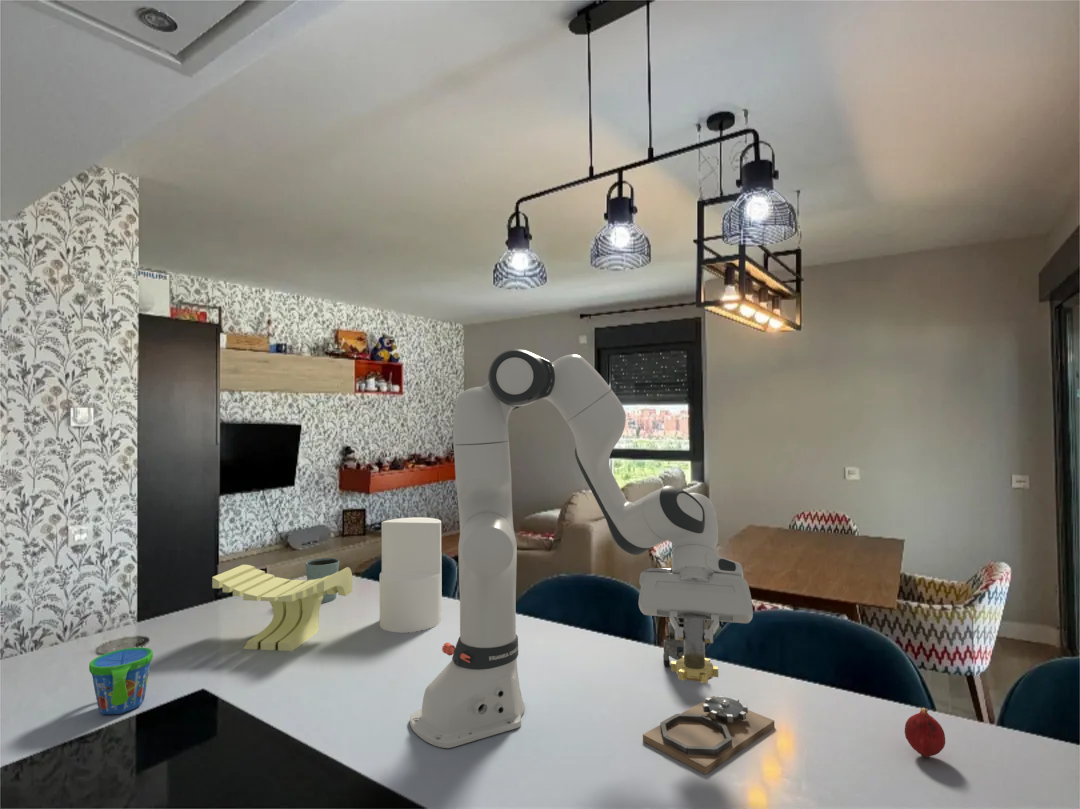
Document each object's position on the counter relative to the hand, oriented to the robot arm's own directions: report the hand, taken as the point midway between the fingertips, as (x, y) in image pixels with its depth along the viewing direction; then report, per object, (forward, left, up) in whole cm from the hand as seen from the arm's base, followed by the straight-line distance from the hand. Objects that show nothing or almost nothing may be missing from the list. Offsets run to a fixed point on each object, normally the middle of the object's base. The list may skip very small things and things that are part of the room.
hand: (693, 640), depth 105 cm
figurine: (+25, +20, -19) cm, 37 cm away
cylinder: (-7, +90, -18) cm, 92 cm away
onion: (+26, -28, -18) cm, 42 cm away
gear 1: (+1, 0, -6) cm, 6 cm away
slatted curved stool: (-38, +101, -19) cm, 110 cm away
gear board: (+5, 0, -18) cm, 19 cm away
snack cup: (-75, +84, -19) cm, 114 cm away
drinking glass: (-18, +128, -19) cm, 131 cm away
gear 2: (+10, 0, -17) cm, 20 cm away
